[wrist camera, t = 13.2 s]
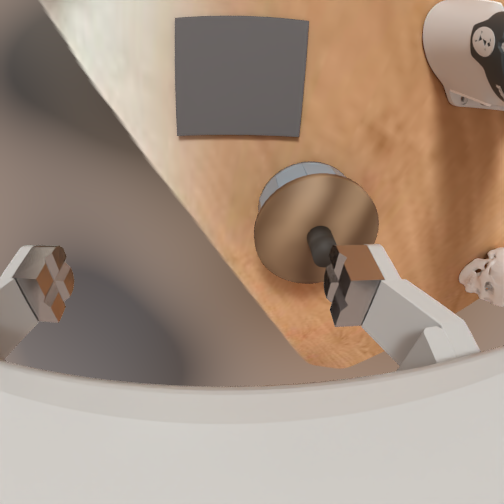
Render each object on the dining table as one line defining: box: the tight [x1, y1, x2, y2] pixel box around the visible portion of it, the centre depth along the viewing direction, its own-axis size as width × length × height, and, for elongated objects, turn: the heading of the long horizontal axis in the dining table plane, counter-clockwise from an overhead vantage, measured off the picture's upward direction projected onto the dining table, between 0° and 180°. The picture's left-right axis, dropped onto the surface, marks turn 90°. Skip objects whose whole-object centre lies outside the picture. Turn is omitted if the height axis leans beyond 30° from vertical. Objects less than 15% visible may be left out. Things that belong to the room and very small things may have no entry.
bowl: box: [258, 162, 347, 212], centre depth 42 cm, size 14×14×6 cm
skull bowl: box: [459, 247, 504, 307], centre depth 52 cm, size 10×14×12 cm
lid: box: [254, 173, 379, 284], centre depth 37 cm, size 16×16×5 cm
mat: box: [175, 16, 309, 137], centre depth 32 cm, size 15×15×1 cm
